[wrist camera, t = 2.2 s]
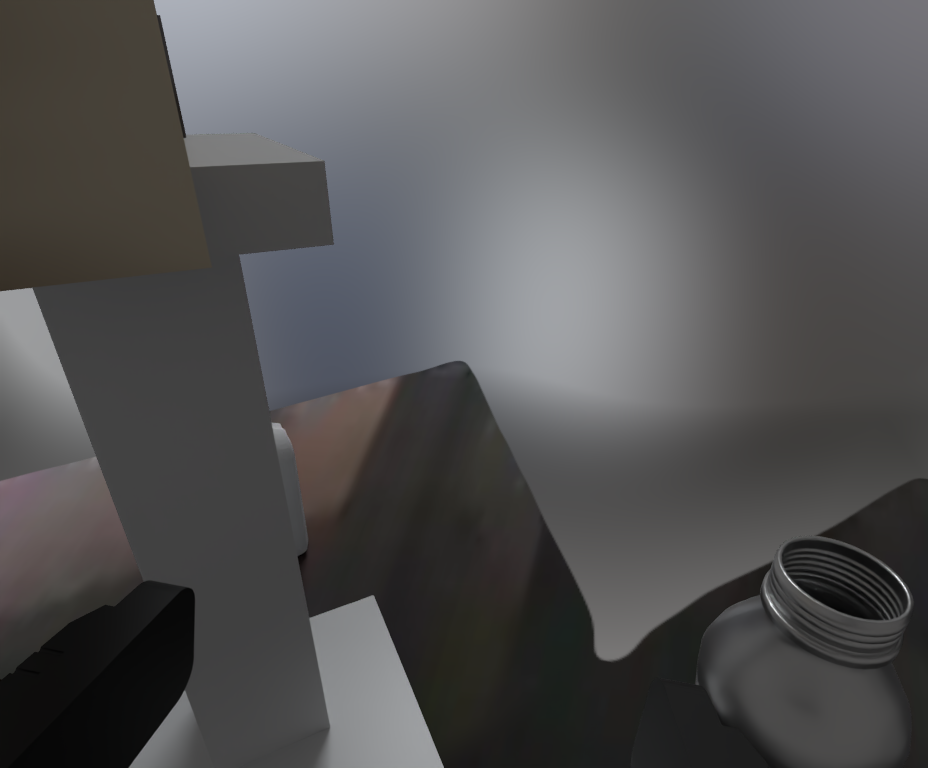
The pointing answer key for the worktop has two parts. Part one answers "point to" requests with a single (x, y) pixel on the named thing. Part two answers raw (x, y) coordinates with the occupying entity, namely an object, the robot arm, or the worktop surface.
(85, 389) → the stand
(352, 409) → the worktop surface
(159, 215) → the birch bar
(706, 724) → the robot arm
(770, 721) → the plastic bottle
